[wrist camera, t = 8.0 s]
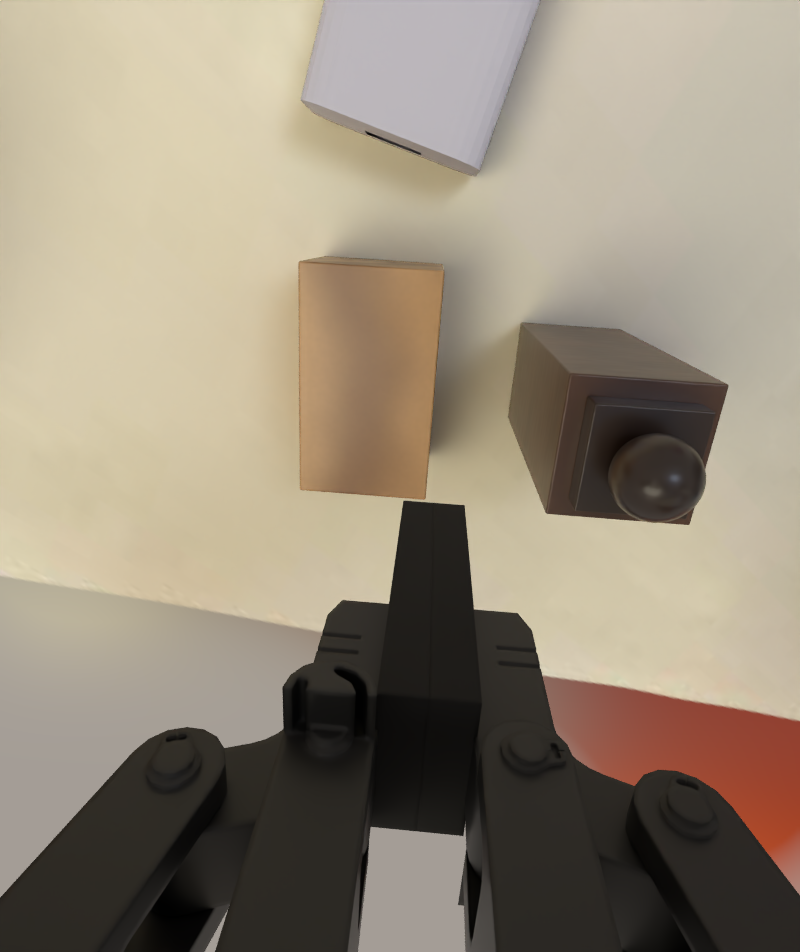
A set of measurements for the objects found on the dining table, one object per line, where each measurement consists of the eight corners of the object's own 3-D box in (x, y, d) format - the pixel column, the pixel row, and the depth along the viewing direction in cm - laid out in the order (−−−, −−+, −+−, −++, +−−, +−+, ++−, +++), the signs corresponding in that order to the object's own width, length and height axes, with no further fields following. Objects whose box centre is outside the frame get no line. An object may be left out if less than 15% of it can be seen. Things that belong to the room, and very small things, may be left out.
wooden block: (442, 264, 34) (444, 270, 28) (426, 456, 39) (425, 500, 32) (324, 256, 34) (298, 261, 28) (322, 447, 39) (299, 490, 32)
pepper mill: (577, 320, 38) (883, 381, 25) (562, 410, 40) (834, 509, 27) (398, 326, 31) (690, 413, 18) (392, 434, 33) (646, 582, 20)
